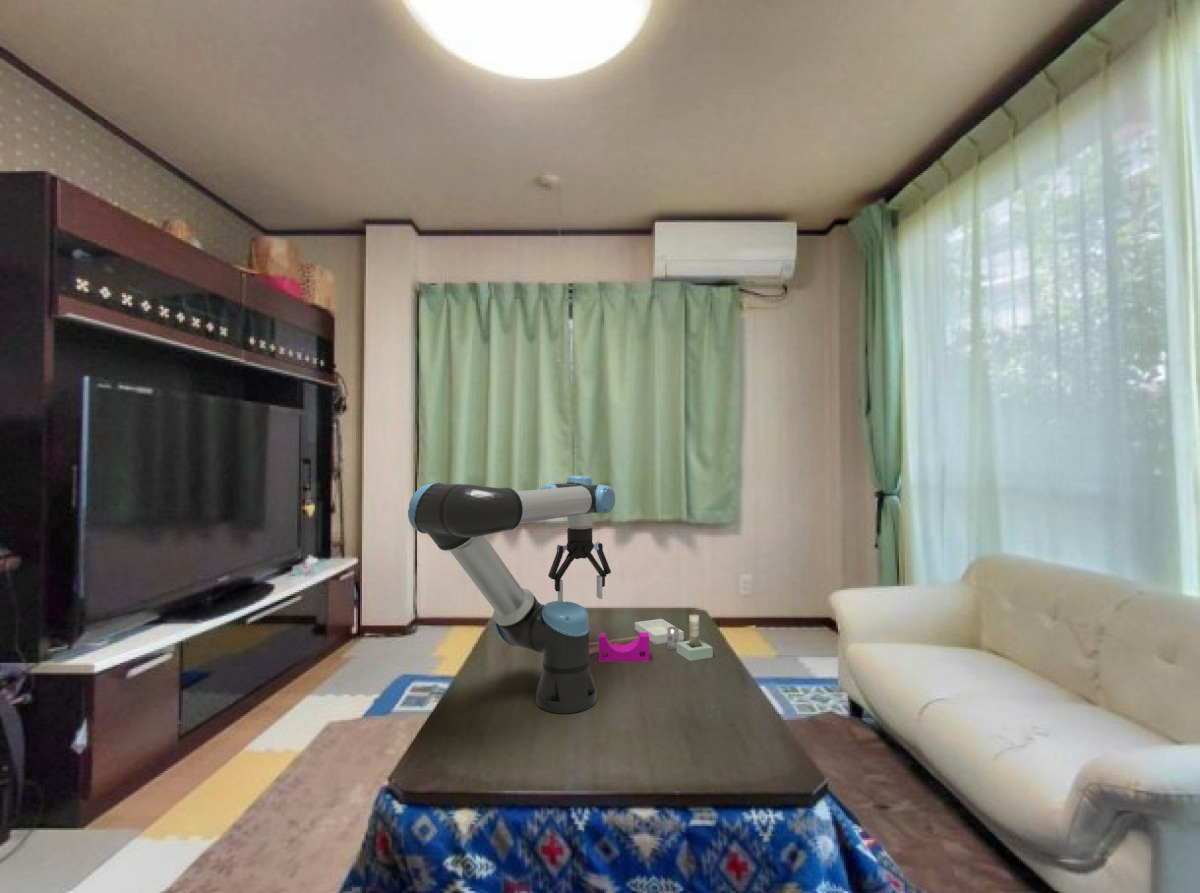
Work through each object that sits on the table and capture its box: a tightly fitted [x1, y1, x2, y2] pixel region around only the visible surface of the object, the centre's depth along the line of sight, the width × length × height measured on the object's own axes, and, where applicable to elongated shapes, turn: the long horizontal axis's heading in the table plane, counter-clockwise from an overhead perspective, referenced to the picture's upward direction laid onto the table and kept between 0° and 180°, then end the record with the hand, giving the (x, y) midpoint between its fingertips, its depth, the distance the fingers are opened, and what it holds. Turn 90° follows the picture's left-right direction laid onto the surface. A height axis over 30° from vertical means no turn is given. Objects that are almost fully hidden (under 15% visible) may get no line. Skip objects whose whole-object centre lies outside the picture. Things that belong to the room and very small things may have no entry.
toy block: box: [598, 632, 650, 663], centre depth 166 cm, size 15×6×8 cm, turn 91°
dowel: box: [688, 613, 700, 648], centre depth 168 cm, size 3×3×12 cm
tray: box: [634, 618, 685, 646], centre depth 186 cm, size 16×11×3 cm
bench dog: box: [666, 626, 680, 651], centre depth 174 cm, size 4×4×6 cm
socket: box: [676, 639, 714, 662], centre depth 168 cm, size 8×8×3 cm
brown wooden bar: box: [589, 635, 639, 655], centre depth 172 cm, size 2×22×3 cm, turn 111°
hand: (580, 600), depth 163 cm, fingers open, 12 cm apart
